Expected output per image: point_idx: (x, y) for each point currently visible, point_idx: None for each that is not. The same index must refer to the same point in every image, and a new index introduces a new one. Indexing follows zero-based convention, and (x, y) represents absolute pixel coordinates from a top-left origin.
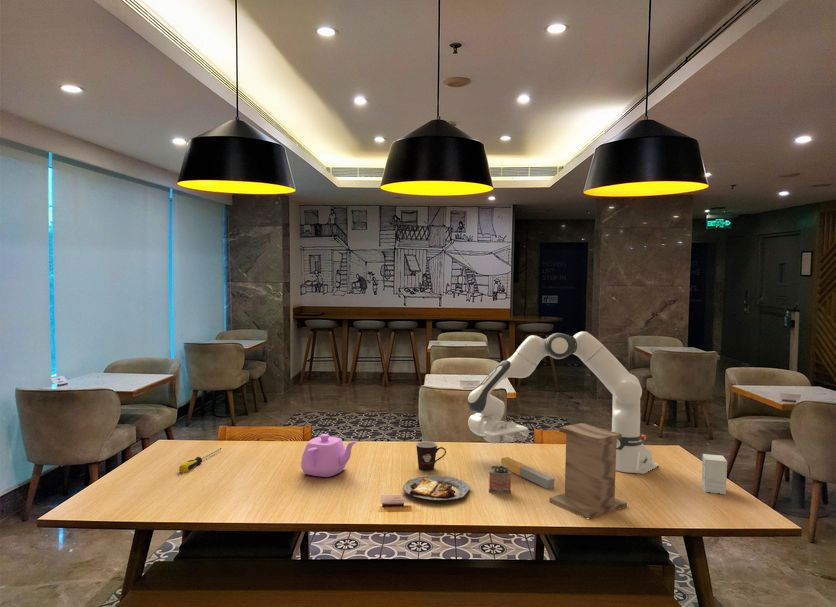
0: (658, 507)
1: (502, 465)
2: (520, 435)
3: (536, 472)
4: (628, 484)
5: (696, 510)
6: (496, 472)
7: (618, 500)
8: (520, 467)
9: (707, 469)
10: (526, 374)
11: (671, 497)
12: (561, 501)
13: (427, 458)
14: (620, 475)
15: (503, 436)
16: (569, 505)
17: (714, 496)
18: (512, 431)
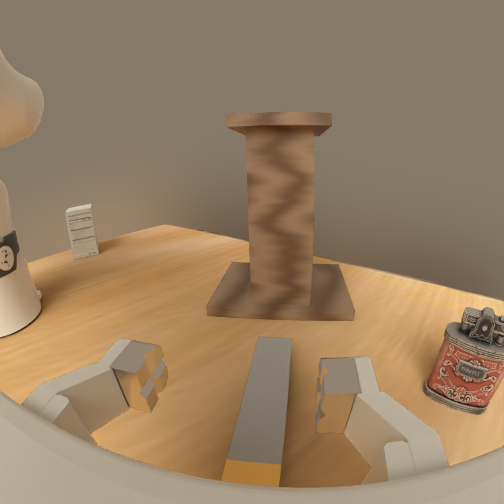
0: (197, 257)
1: (485, 311)
2: (81, 423)
3: (265, 388)
4: (109, 294)
5: (174, 245)
6: (496, 337)
7: (234, 267)
8: (281, 461)
9: (93, 221)
10: None
11: (141, 261)
12: (343, 294)
13: None
14: (59, 312)
15: (439, 455)
16: (341, 283)
17: (109, 249)
18: (135, 472)
